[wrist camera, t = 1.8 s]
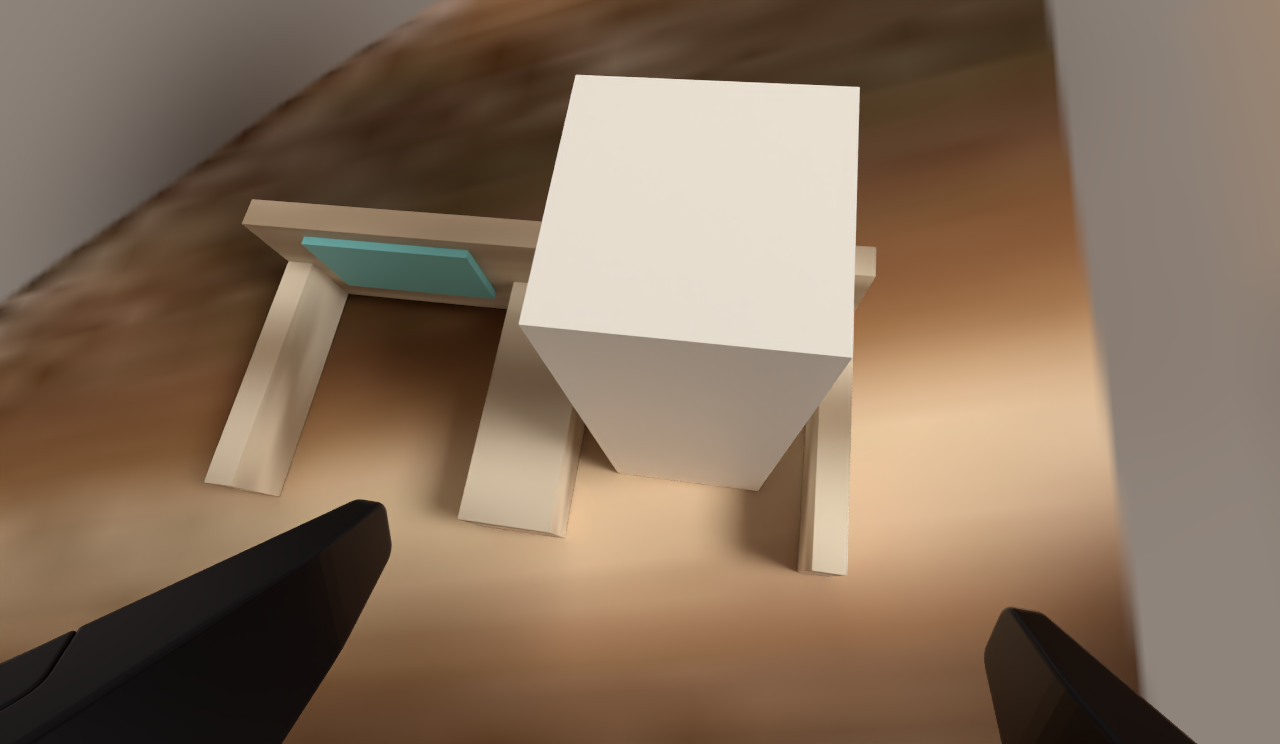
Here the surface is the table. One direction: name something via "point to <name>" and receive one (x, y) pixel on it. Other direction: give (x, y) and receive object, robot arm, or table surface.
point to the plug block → (698, 269)
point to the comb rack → (520, 383)
